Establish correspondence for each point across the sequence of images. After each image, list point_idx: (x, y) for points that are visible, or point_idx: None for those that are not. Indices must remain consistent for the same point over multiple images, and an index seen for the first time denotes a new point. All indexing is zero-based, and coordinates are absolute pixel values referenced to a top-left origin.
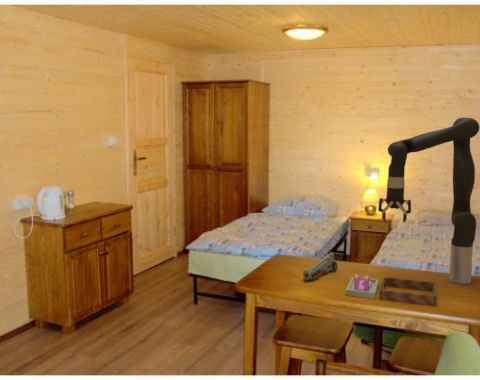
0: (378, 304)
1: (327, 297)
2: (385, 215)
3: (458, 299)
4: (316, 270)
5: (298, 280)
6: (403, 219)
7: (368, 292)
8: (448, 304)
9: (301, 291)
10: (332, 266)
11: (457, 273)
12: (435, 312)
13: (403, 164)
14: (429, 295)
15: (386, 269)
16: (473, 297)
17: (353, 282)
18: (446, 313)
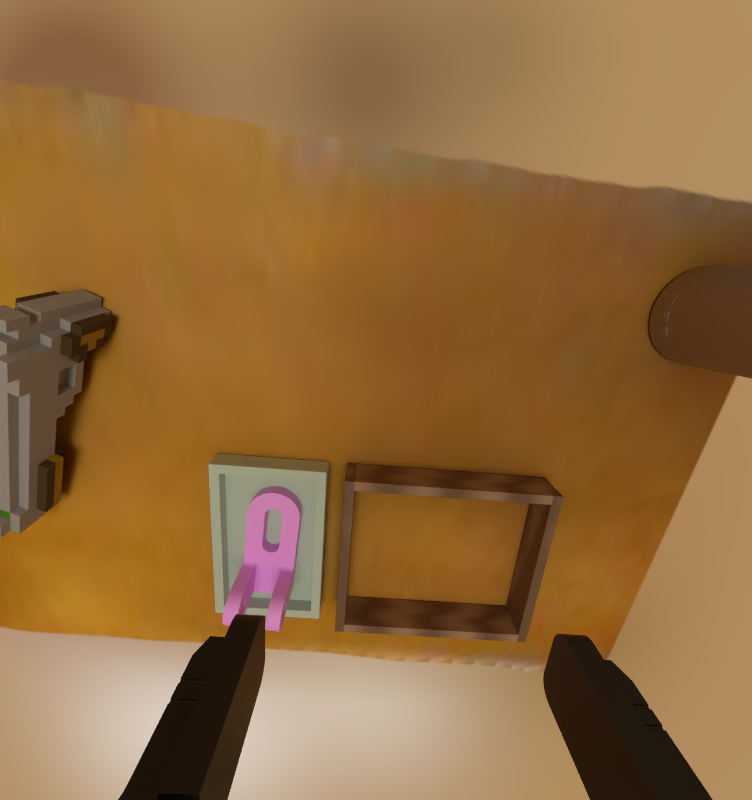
0: (336, 639)
1: (170, 624)
2: (229, 749)
3: (606, 540)
4: (32, 485)
5: None
6: (572, 744)
7: (296, 616)
8: (557, 590)
9: (68, 596)
10: (79, 359)
11: (710, 369)
12: (500, 655)
13: None
14: (504, 638)
15: (362, 205)
16: (669, 508)
17: (227, 489)
18: (531, 654)
